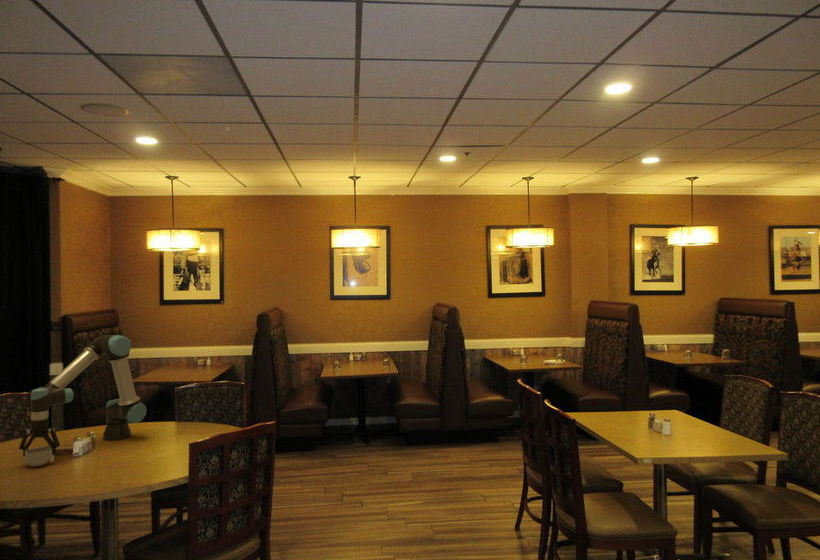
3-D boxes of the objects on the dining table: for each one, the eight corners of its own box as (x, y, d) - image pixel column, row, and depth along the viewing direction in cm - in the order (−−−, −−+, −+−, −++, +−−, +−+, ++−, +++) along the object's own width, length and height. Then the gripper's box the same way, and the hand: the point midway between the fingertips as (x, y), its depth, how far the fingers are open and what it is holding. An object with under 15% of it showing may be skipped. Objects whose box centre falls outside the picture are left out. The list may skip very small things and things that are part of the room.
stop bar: (79, 452, 296) (79, 446, 296) (77, 454, 293) (77, 448, 294) (35, 454, 292) (35, 448, 293) (32, 456, 290) (32, 450, 290)
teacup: (38, 468, 268) (37, 452, 268) (19, 467, 270) (19, 451, 270) (61, 459, 281) (61, 444, 282) (43, 458, 284) (43, 443, 284)
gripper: (10, 421, 270) (10, 465, 270) (61, 419, 274) (60, 462, 274) (18, 418, 278) (18, 461, 277) (67, 416, 282) (67, 458, 281)
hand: (39, 462), depth 276 cm, fingers closed on teacup, 11 cm apart
